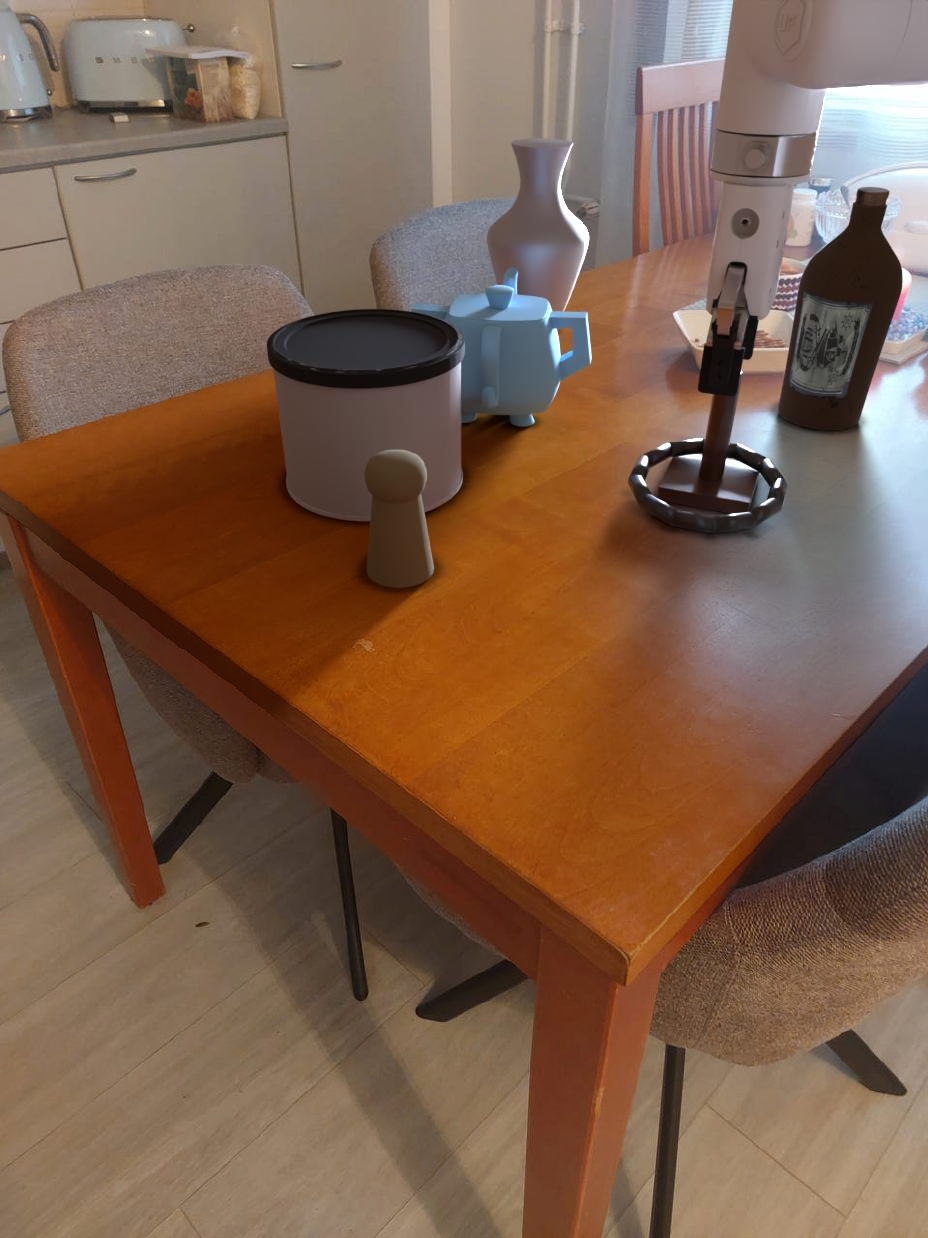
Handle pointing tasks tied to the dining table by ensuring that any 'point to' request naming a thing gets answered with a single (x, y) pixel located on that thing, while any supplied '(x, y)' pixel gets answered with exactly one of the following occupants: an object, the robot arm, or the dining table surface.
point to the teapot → (512, 350)
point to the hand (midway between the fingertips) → (725, 374)
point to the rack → (712, 468)
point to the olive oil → (842, 320)
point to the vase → (540, 227)
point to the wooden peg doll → (397, 520)
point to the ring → (699, 520)
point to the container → (367, 403)
